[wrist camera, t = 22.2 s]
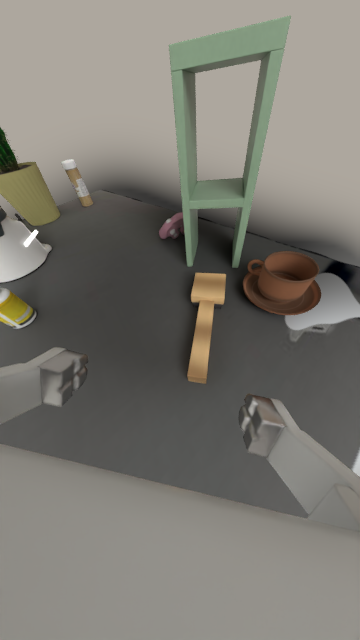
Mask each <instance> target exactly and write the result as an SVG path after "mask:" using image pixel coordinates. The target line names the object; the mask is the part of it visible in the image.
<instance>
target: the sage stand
mask: <svg viewBox="0 0 360 640" xmlns="http://www.w3.org/2000/svg"><path fill="white" fill-rule="evenodd" d="M290 19H291V16H287V17H283V18H279V19H274V20H271V21H266V22H262V23H258V24H254V25H250V26H245V27H241V28H237V29H233V30H229V31H225V32H220V33H216V34H212V35H208V36H204V37H200V38H196V39H192V40H187V41H183V42H179V43H175V44H171V45H169V51H170V64H171V75H172V87H173V99H174V112H175V123H176V135H177V148H178V160H179V171H180V183H181V184H180V185H181V197H182V208H183V221H184V233H185V245H186V257H187V266H193V262H194V257H195V253H196V249H197V245H198V214H197V212H198V210H197V209H208V208H233V207H234V208H235V207H238V212H237V218H236V225H235V231H234V237H233V253H232V268H238V266H239V261H240V256H241V251H242V247H243V242H244V237H245V232H246V228H247V223H248V218H249V214H250V209H251V204H252V199H253V194H254V190H255V185H256V180H257V176H258V171H259V166H260V161H261V157H262V152H263V147H264V142H265V138H266V133H267V128H268V123H269V118H270V114H271V109H272V105H273V100H274V95H275V90H276V85H277V81H278V76H279V71H280V67H281V62H282V57H283V52H284V47H285V43H286V38H287V34H288V29H289V24H290ZM258 60H261V66H260V73H259V78H258V85H257V91H256V97H255V104H254V110H253V117H252V123H251V129H250V136H249V142H248V148H247V155H246V161H245V167H244V174H243V178H235V179H220V180H206V181H197V157H196V156H197V155H196V98H195V73H198V72H203V71H208V70H213V69H218V68H223V67H228V66H233V65H237V64H242V63H247V62H252V61H258Z"/></svg>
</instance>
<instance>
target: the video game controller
mask: <svg viewBox="0 0 360 640" xmlns="http://www.w3.org/2000/svg"><path fill="white" fill-rule="evenodd" d="M180 227H181V228H180ZM178 228H180V232H181V233H182V234H185V233H184V221H183V213H177V214H175V215H174V216H173V217H172V218H170V219H167V221H166V222H165V223H164V224H163V226H162V228H161V229H160V231H159V235H160V237H161V238H162V239H165V238H167V237H168V236H171V237H172V238H173V239H175V238H177V237H178V235H179V232H178Z"/></svg>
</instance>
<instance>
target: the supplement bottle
mask: <svg viewBox="0 0 360 640" xmlns="http://www.w3.org/2000/svg"><path fill="white" fill-rule="evenodd" d="M35 317H36V311H35V310H34V309H33V308H31V307H30V306H29V305H27V304H26V303H25V302H23V301H22V300H21V299H20V298H18V297H17V296H16V295H14V294H13V293H12V292H11V291H9V290H8V289H5V288H1V287H0V321H2V322H3V323H5V324H7V325H9V326H10V327H12V328H15V329H19V328H22V327H25V326H27V325H29V324H30V323H31V322H32V321H33V320H34V319H35Z"/></svg>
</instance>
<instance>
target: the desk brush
mask: <svg viewBox="0 0 360 640" xmlns="http://www.w3.org/2000/svg"><path fill="white" fill-rule="evenodd" d="M225 281H226V274H213V273H196V274H195V279H194V284H193V288H192V293H191V302H193V306H195V307H199V309H198V315H197V321H196V327H195V333H194V339H193V345H192V351H191V357H190V362H189V368H188V374H187V376H188V381H193V382H199V383H204V384H206V379H207V370H208V360H209V350H210V340H211V331H212V321H213V311H214V308H220V309H221V307H222V304H224V298H225Z"/></svg>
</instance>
